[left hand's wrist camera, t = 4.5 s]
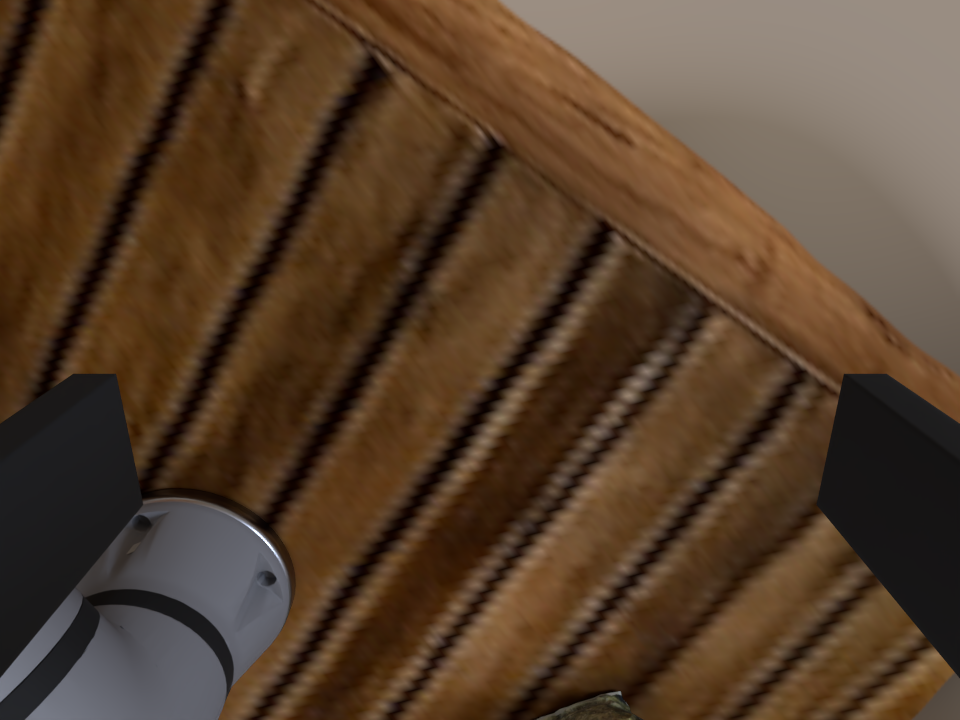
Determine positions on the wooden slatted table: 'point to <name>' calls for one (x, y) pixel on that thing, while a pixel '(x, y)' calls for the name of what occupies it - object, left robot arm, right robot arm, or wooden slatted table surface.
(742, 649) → the wooden slatted table surface
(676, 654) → the wooden slatted table surface
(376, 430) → the wooden slatted table surface
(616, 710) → the fossil
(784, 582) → the wooden slatted table surface
